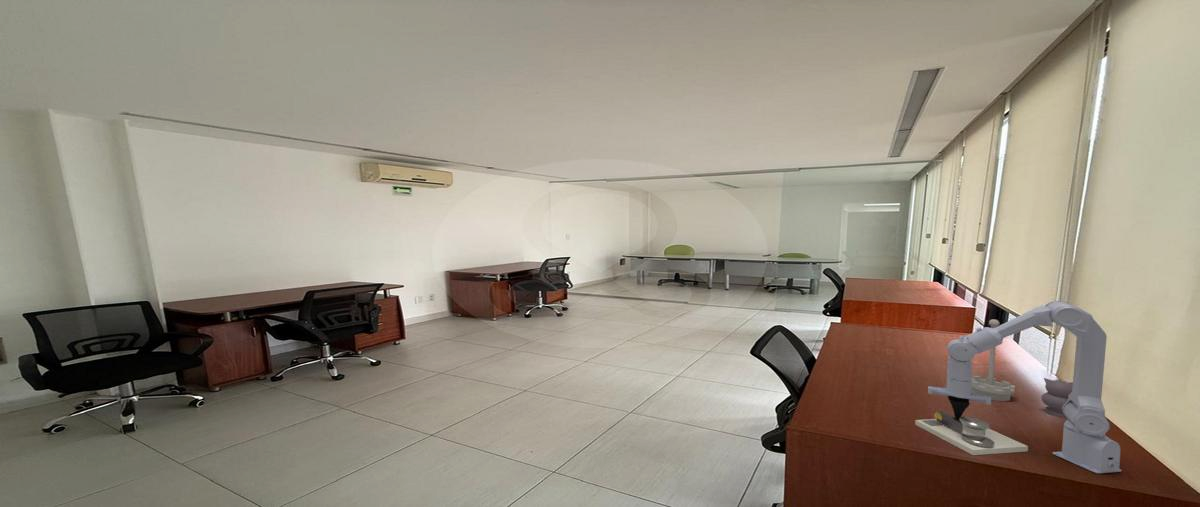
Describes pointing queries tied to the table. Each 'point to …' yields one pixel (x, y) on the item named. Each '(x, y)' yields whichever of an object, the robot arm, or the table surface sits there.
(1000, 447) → the stand
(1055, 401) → the grey wavy vase
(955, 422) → the capstan
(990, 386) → the flag stand
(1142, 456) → the table surface
